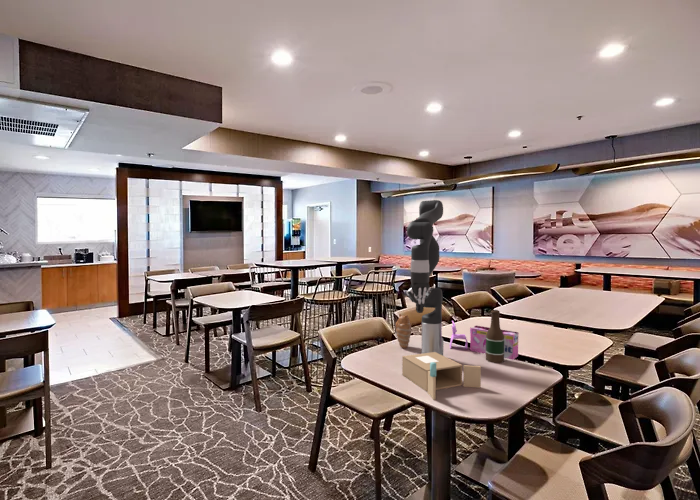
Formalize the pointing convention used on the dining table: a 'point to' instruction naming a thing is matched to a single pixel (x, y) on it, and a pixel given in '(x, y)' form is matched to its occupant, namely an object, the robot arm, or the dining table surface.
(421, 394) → the dining table surface
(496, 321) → the beer bottle
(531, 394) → the dining table surface
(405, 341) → the brown ridged tapered piece
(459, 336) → the chair
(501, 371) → the dining table surface
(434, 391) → the flap
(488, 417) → the dining table surface
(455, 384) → the carton
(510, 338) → the gum box
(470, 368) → the flap
